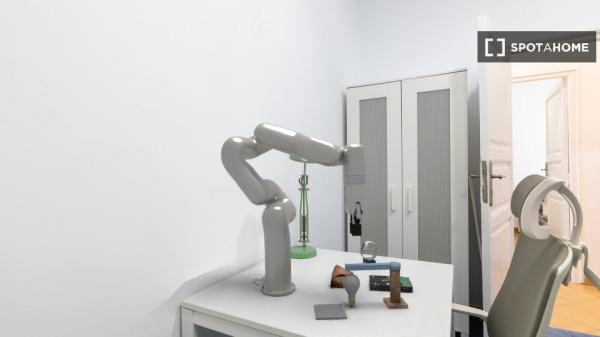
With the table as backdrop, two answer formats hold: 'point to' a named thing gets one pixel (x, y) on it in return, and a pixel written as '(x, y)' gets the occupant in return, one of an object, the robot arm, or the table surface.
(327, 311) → the mat
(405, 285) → the disk drive
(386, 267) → the latch arm
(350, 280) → the light bulb
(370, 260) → the watch
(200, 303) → the table surface
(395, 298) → the post
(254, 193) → the robot arm
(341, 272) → the sunglasses case
